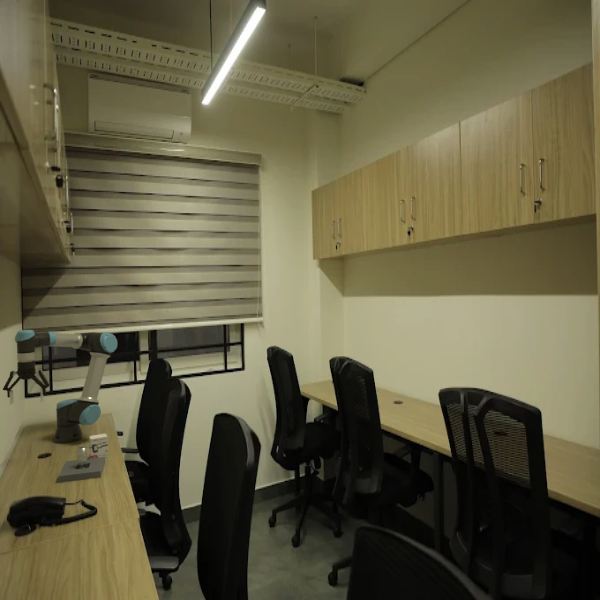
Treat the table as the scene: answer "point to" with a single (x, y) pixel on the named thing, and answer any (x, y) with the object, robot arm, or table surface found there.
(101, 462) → the hole block
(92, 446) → the ink box
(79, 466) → the steel pin
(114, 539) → the table surface
